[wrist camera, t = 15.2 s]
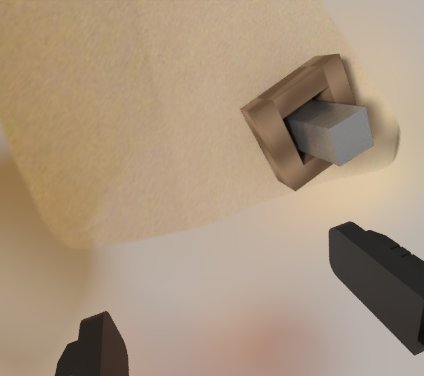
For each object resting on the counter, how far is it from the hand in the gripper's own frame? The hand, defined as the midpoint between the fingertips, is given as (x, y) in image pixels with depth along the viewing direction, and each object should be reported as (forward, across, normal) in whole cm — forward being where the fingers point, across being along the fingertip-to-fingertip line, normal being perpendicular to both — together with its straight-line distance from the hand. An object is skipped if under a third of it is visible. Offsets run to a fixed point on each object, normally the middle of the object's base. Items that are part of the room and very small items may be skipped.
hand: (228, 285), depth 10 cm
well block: (+28, -19, +5) cm, 34 cm away
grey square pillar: (+28, -19, +5) cm, 34 cm away
